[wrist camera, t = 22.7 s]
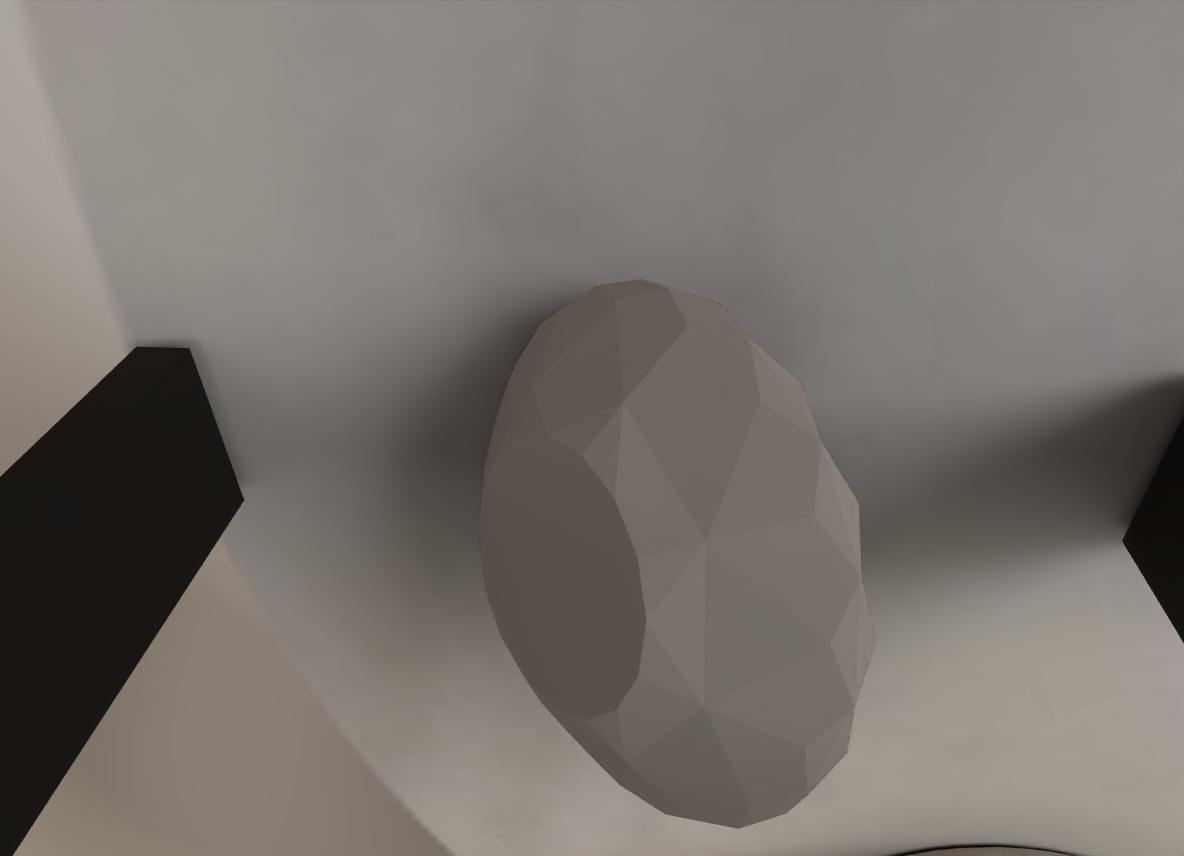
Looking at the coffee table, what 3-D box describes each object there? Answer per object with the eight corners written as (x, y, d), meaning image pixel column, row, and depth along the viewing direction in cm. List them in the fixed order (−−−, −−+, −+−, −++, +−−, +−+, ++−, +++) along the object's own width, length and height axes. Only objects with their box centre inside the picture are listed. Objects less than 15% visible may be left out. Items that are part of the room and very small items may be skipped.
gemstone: (928, 804, 11) (656, 1005, 8) (649, 537, 15) (397, 606, 12) (1182, 415, 8) (903, 505, 5) (754, 211, 12) (458, 196, 9)
